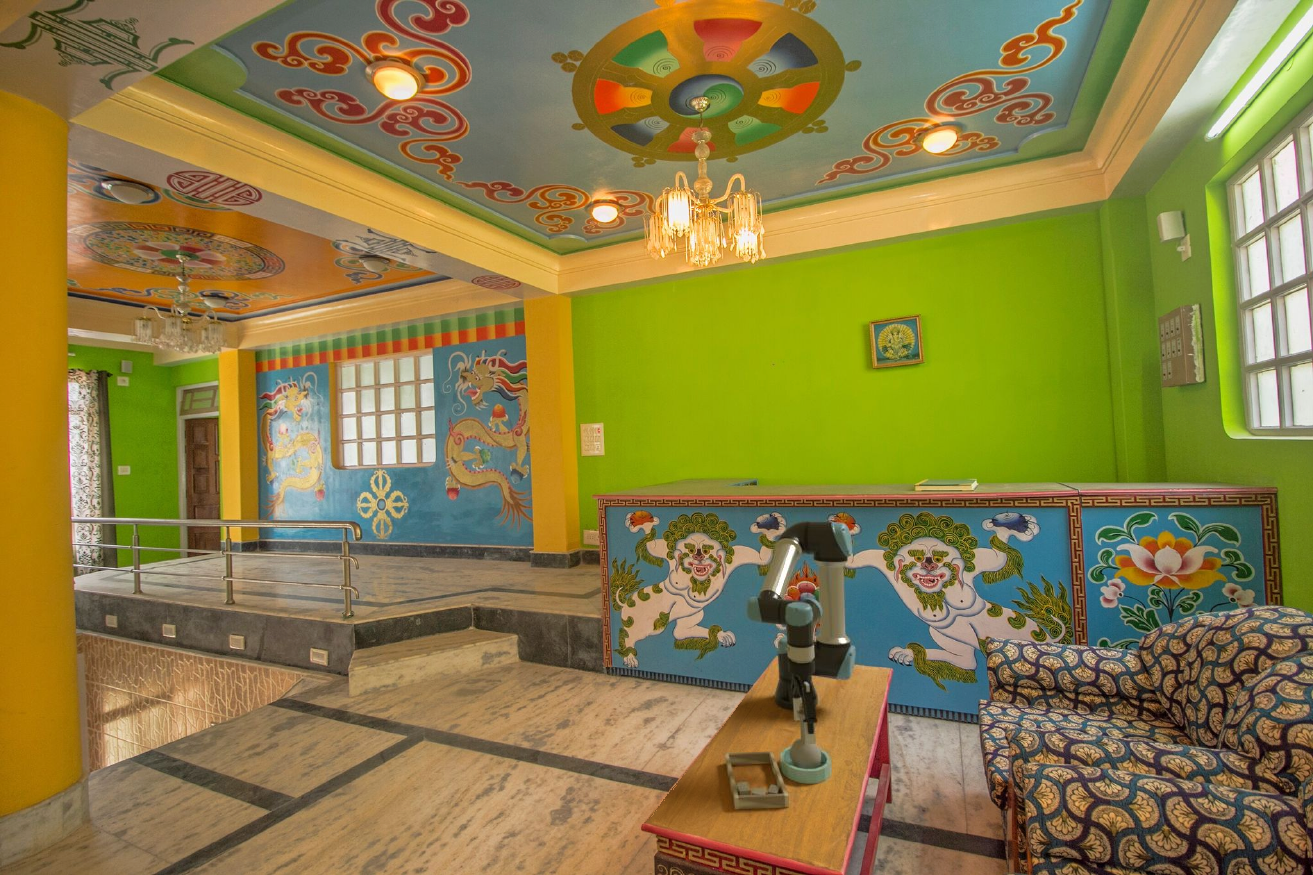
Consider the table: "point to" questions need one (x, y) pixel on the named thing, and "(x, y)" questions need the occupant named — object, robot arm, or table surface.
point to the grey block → (743, 788)
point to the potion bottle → (804, 748)
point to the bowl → (805, 774)
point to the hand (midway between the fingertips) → (804, 731)
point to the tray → (762, 799)
